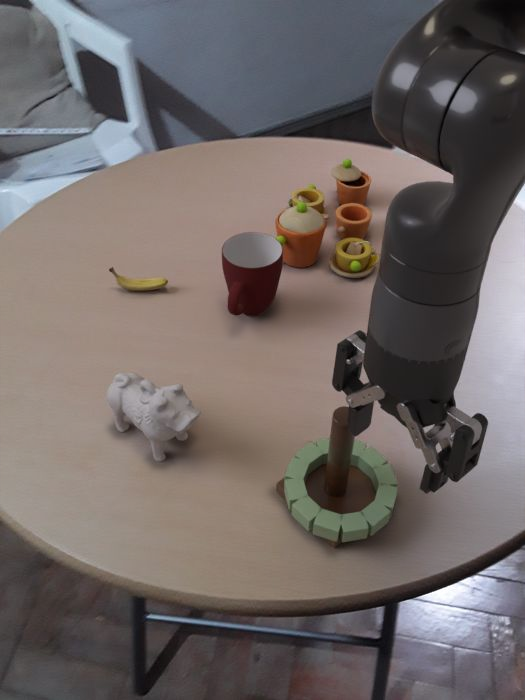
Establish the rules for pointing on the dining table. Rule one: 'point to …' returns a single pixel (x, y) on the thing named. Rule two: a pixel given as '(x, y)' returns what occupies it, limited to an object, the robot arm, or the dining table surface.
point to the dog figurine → (151, 409)
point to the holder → (338, 475)
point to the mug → (251, 271)
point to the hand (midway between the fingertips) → (393, 456)
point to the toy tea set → (309, 225)
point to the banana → (139, 282)
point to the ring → (331, 522)
